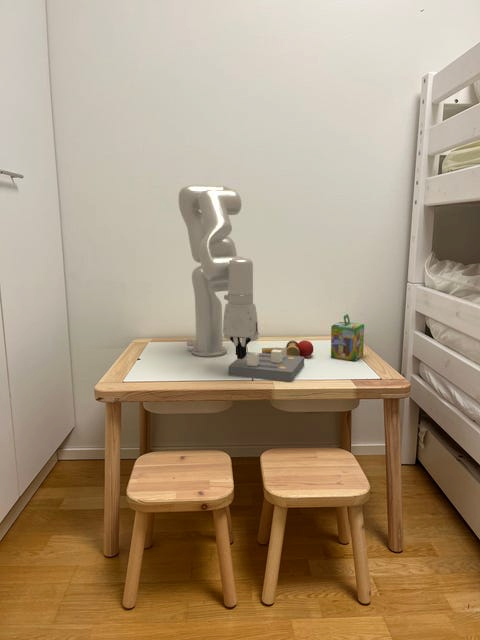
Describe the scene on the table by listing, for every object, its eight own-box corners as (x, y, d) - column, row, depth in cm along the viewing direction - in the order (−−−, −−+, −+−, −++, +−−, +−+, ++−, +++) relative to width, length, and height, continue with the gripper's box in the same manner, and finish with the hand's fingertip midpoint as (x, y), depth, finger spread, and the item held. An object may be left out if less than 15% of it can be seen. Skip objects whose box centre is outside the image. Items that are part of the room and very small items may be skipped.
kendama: (262, 363, 166) (314, 357, 164) (260, 345, 166) (312, 339, 164) (264, 361, 174) (314, 355, 172) (261, 343, 174) (311, 337, 172)
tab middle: (270, 362, 151) (271, 351, 151) (273, 360, 154) (273, 349, 153) (280, 363, 150) (280, 352, 150) (282, 360, 153) (282, 350, 152)
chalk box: (355, 362, 162) (357, 318, 159) (329, 358, 167) (331, 316, 164) (364, 355, 170) (366, 314, 167) (339, 352, 175) (340, 312, 172)
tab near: (247, 365, 148) (247, 354, 147) (249, 363, 151) (249, 352, 150) (256, 366, 147) (256, 355, 147) (259, 363, 150) (259, 353, 149)
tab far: (275, 357, 156) (275, 347, 156) (277, 355, 159) (277, 345, 158) (284, 358, 155) (284, 348, 155) (286, 356, 158) (286, 346, 157)
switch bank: (228, 375, 149) (228, 365, 148) (246, 360, 165) (246, 351, 164) (291, 381, 142) (291, 371, 142) (304, 365, 158) (304, 356, 158)
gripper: (213, 300, 145) (214, 359, 149) (260, 302, 140) (260, 363, 144) (222, 296, 152) (223, 353, 156) (267, 298, 147) (267, 356, 151)
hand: (241, 357), depth 150 cm, fingers closed
